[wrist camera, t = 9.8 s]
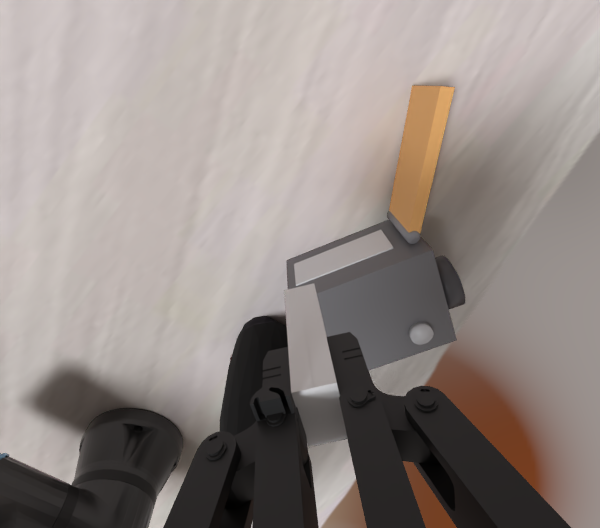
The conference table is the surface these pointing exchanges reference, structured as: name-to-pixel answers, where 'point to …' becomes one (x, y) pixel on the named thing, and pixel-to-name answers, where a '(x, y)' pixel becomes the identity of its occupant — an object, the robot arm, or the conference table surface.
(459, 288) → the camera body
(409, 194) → the side door
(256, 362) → the portable speaker
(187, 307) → the conference table surface
